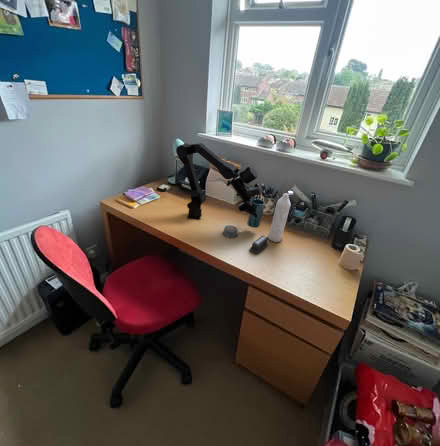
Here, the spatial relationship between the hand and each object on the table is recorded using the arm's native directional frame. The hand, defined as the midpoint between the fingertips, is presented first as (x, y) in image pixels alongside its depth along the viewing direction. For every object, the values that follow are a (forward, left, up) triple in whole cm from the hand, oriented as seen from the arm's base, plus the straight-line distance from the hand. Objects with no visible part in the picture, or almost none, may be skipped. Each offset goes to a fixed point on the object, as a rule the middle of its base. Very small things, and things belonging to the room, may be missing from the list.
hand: (258, 213), depth 123 cm
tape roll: (-13, -4, -11) cm, 18 cm away
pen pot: (-1, 0, -7) cm, 7 cm away
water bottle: (+11, -3, -11) cm, 16 cm away
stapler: (+1, -14, -11) cm, 18 cm away
